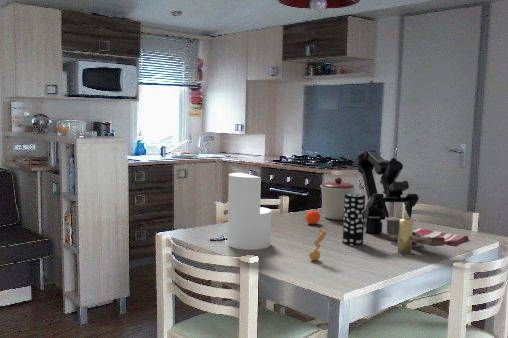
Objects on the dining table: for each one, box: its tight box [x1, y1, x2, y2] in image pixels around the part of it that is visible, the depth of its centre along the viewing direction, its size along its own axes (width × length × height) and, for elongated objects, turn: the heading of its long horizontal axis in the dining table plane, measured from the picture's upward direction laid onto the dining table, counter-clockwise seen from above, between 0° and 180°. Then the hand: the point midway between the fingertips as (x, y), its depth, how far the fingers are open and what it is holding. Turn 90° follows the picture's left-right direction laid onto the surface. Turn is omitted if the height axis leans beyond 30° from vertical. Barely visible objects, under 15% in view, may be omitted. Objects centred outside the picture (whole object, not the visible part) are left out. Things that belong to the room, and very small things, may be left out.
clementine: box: [305, 209, 321, 225], centre depth 248 cm, size 8×7×7 cm
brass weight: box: [397, 217, 414, 255], centre depth 199 cm, size 5×5×13 cm
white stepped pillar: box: [227, 172, 272, 251], centre depth 206 cm, size 17×17×28 cm
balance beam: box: [386, 219, 445, 247], centre depth 207 cm, size 29×5×7 cm, turn 21°
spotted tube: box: [342, 193, 366, 247], centre depth 212 cm, size 8×8×20 cm
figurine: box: [308, 228, 327, 262], centre depth 185 cm, size 8×6×12 cm
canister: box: [319, 176, 357, 221], centre depth 263 cm, size 18×18×21 cm
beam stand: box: [390, 232, 425, 249], centre depth 211 cm, size 8×10×5 cm
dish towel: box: [412, 228, 469, 247], centre depth 226 cm, size 17×23×3 cm
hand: (399, 217), depth 205 cm, fingers open, 9 cm apart
